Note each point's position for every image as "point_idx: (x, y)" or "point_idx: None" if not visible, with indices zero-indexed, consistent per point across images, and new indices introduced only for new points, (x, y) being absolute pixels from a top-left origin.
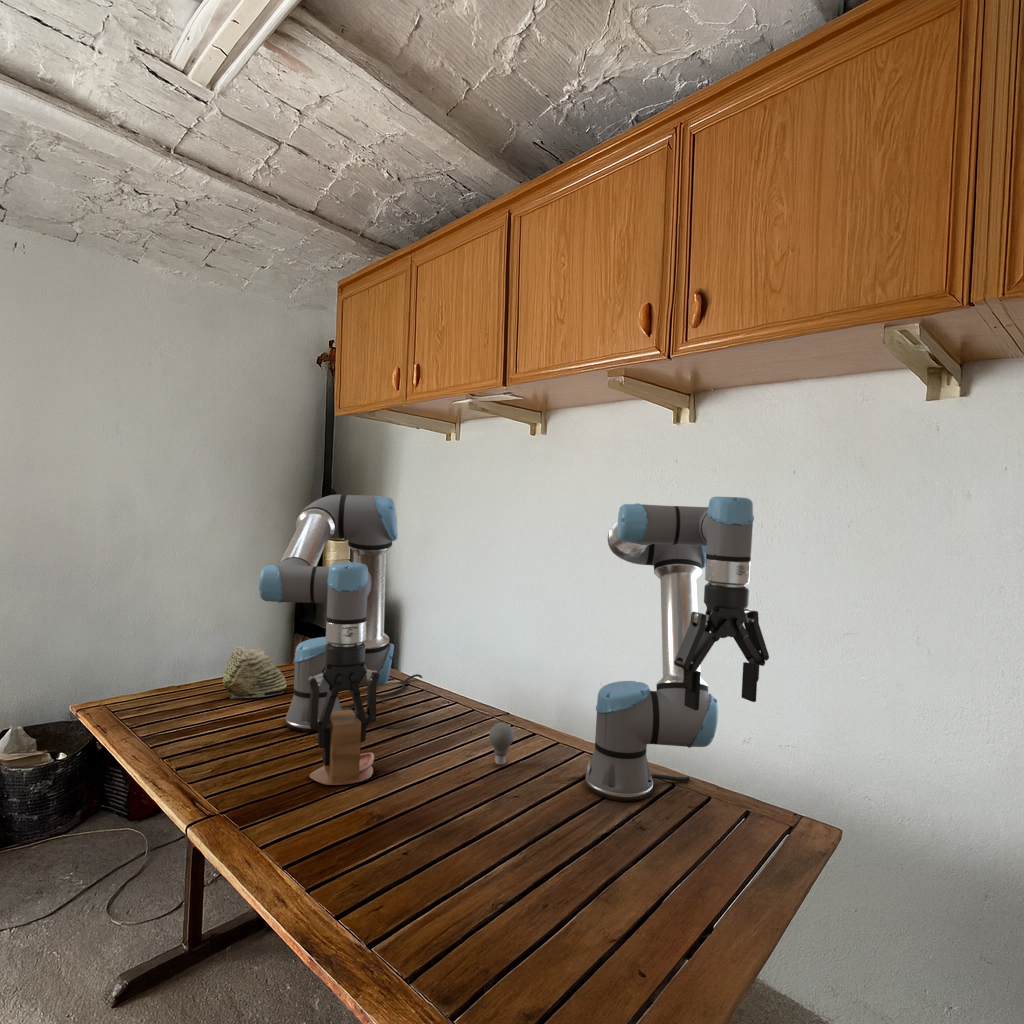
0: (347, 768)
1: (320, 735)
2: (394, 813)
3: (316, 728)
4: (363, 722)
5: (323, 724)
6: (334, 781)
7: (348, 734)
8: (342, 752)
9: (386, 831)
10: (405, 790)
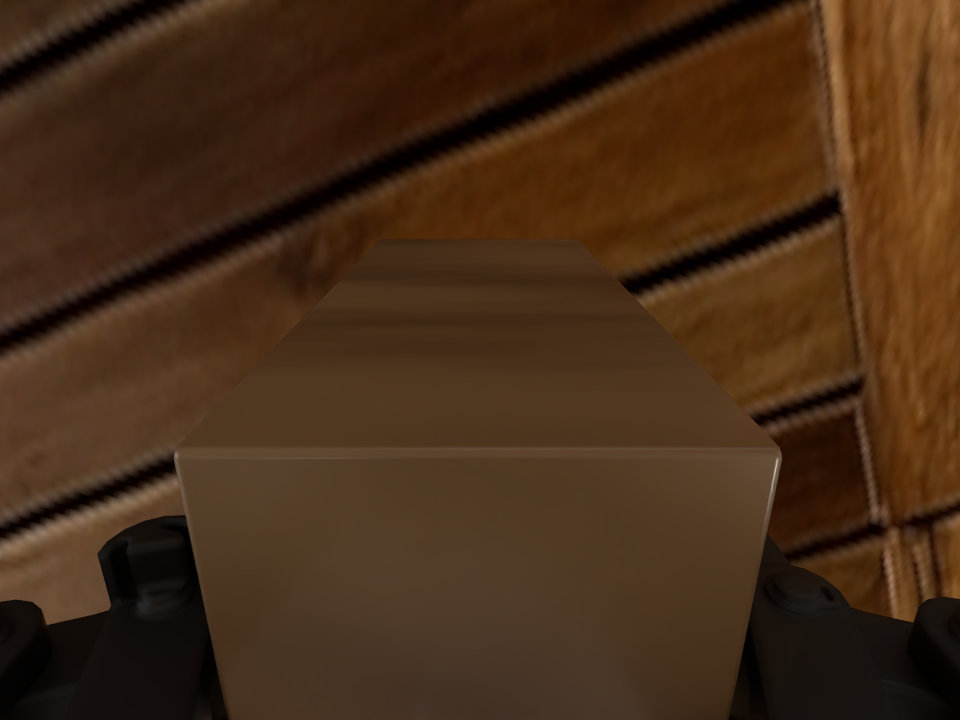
0: (466, 256)
1: (769, 554)
2: (225, 274)
3: (886, 632)
4: (160, 610)
5: (835, 653)
6: (561, 241)
7: (459, 361)
8: (525, 290)
9: (289, 121)
10: (147, 454)
